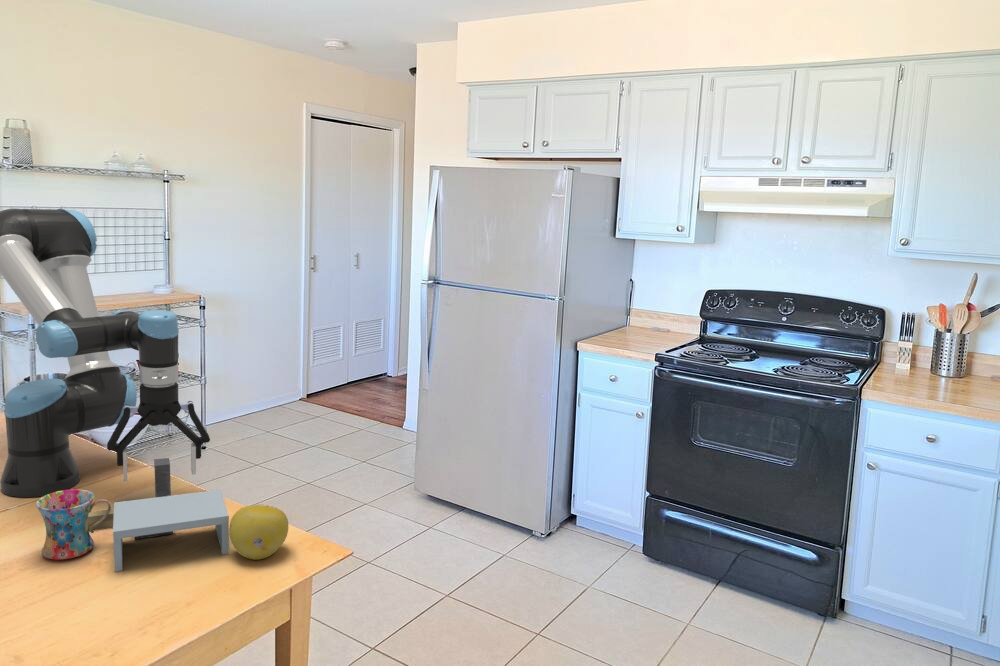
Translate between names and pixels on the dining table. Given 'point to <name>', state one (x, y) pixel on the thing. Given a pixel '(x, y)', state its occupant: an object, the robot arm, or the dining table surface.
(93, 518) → the l-shaped tan bracket
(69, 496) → the mug
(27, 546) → the dining table surface
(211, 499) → the grey u-shaped bridge
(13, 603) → the dining table surface
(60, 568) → the dining table surface
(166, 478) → the grey piece
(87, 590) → the dining table surface
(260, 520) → the fruit
